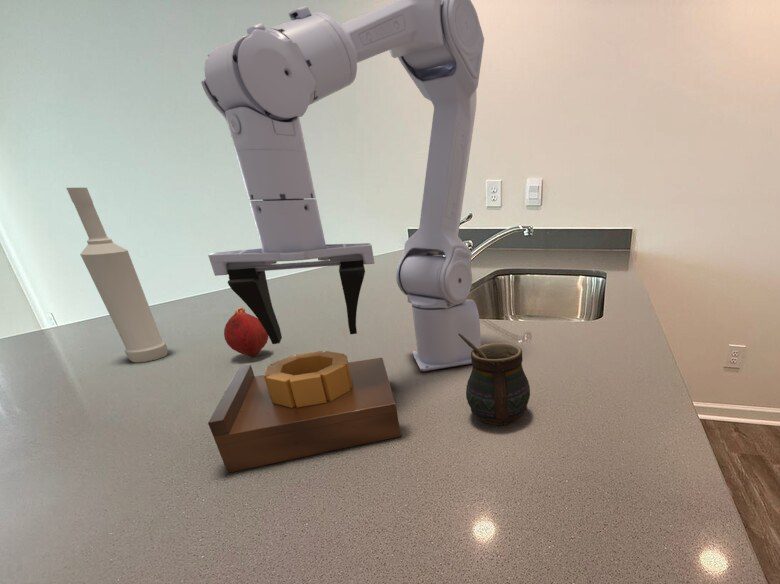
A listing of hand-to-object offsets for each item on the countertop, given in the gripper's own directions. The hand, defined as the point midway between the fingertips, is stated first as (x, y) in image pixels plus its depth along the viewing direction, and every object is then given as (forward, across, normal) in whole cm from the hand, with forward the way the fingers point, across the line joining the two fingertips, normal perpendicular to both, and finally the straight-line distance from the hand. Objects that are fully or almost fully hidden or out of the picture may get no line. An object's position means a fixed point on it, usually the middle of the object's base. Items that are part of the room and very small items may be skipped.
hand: (316, 336), depth 44 cm
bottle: (+10, -29, +32) cm, 44 cm away
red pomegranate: (+10, -13, +25) cm, 30 cm away
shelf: (+10, -1, -2) cm, 10 cm away
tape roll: (+6, -1, -2) cm, 6 cm away
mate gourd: (+10, +18, -9) cm, 22 cm away
